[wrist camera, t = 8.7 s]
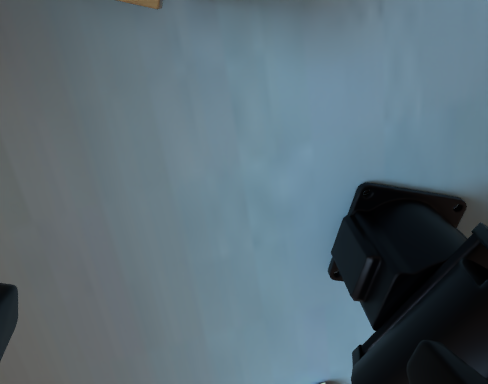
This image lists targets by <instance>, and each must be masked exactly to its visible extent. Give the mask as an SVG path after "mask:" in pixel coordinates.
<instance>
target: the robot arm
mask: <svg viewBox="0 0 488 384" xmlns="http://www.w3.org/2000/svg"><path fill="white" fill-rule="evenodd" d="M366 190H370V191H369V193H368V194H366V195H363V193H364V191H366ZM457 204H458V206H457V207H456V208H455V209H454V207H455V206H456V205H457ZM466 207H467V206H466V203H465V202H464V201H463V200H462V199H461V198H458V197H453V196H447V195H441V194H435V193H429V192H423V191H417V190H410V189H404V188H398V187H392V186H386V185H380V184H374V183H363V184H361V185H360V186H358V188H357V190H356V193H355V196H354V199H353V201H352V204H351V207H350V210H349V212H348V215H347V216H345V217H344V218H343V220H342V223H341V226H340V229H339V231H338V234H337V237H336V240H335V243H334V245H333V248H332V251H331V254H332V256H333V257H332V260H331V262H330V265H329V268H328V273H329V275H330V278H331V279H333V280H337V281H344V283H345V285H346V287H347V289H348V291H349V293H350V296H351V297H352V299H353V300H354V301H360V303H361V305H362V307H363V309H364V311H365V313H366V316H367V318H368V320H369V322H370V324H371V326H372V328H373V330H375V331H376V332H375V333H374V334H373V335H372V336H371V337H370V338H369V339H368V340H367V341H366V342H365V343H364V344H363V345H359V346H358V347H357V348H356V349H355V350H354V351H353V352H352V358H353V371H352V377H351V382H352V384H488V227H487V226H486V225H484V224H483V223H481V222H480V223H479V224H478V225H477V226H476V227H475V228H474V229H473V230H472V231H471V232H472V233H473V234H472V235H471V236H470V237H469V238H468V239H467V238H466V237H465V236H464V235H463V234H462V233H461V232H460V231H459V230H458V229H457V226H458V224H459V222H460V220H461V218H462V216H463V214H464V212H465V210H466ZM338 270H339V272H338V273H334V272H335V271H338ZM17 320H18V290H17V287H16V286H15V285H11V284H4V283H0V361H1V359H2V356H3V354H4V352H5V350H6V347H7V345H8V343H9V341H10V338H11V336H12V334H13V332H14V329H15V327H16V324H17Z"/></svg>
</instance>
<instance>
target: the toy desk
mask: <svg viewBox="0 0 488 384" xmlns="http://www.w3.org/2000/svg"><path fill="white" fill-rule="evenodd" d="M117 1H121V2H126V3H131V4H135V5H140V6H145V7H149V8H154V9H161V8H162V6H163V0H117Z"/></svg>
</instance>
